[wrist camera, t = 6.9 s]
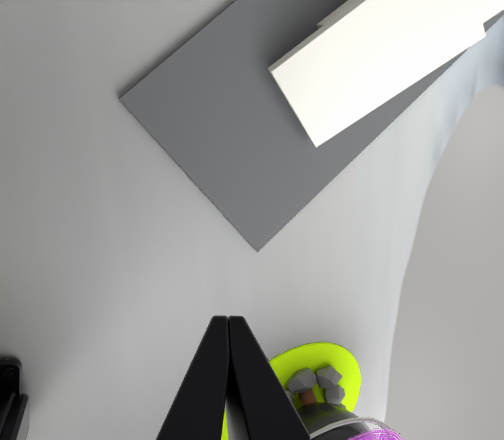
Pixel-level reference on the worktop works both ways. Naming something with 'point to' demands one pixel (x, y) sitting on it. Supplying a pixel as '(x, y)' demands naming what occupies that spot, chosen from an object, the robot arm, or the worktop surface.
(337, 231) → the worktop surface
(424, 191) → the worktop surface
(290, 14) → the mat
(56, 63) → the worktop surface
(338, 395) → the toy cauldron
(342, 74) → the domino
